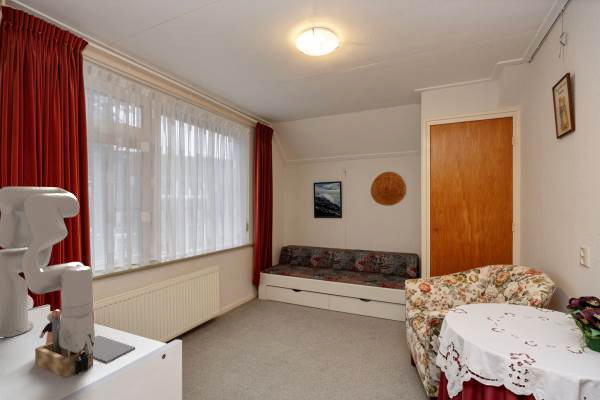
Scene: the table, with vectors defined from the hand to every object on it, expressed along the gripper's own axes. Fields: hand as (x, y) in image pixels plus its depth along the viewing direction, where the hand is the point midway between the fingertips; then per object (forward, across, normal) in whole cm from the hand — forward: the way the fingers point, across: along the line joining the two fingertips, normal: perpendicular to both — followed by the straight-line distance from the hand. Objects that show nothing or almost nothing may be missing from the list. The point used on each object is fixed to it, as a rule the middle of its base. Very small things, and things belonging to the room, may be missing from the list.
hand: (78, 369), depth 90 cm
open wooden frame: (0, -7, 0) cm, 7 cm away
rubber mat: (0, -6, +11) cm, 13 cm away
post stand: (0, -11, 0) cm, 11 cm away
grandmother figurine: (0, -21, +4) cm, 22 cm away
